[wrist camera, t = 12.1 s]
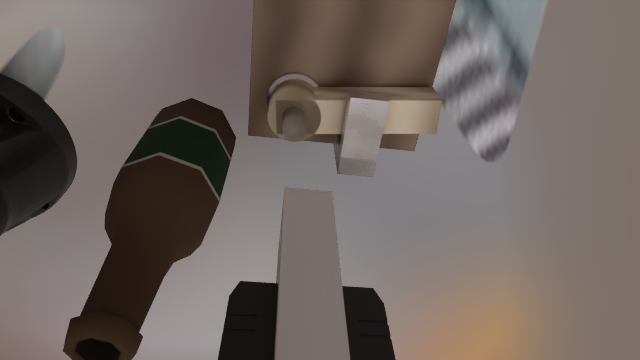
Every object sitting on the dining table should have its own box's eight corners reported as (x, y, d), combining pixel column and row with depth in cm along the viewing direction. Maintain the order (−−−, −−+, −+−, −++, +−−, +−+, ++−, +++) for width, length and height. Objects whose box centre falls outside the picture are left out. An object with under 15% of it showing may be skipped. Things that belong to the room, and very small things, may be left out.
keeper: (264, 134, 40) (259, 166, 35) (268, 63, 37) (264, 88, 32) (364, 144, 41) (372, 176, 36) (378, 75, 38) (389, 101, 33)
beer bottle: (201, 181, 44) (118, 415, 24) (137, 131, 41) (-21, 354, 21) (254, 136, 42) (210, 355, 22) (190, 78, 38) (68, 273, 18)
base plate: (249, 129, 41) (248, 135, 40) (259, -107, 31) (258, -108, 30) (411, 145, 43) (414, 151, 42) (471, -75, 33) (476, -75, 32)
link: (270, 125, 39) (266, 155, 34) (268, 78, 37) (264, 103, 32) (426, 125, 40) (442, 154, 35) (433, 79, 37) (452, 104, 33)
